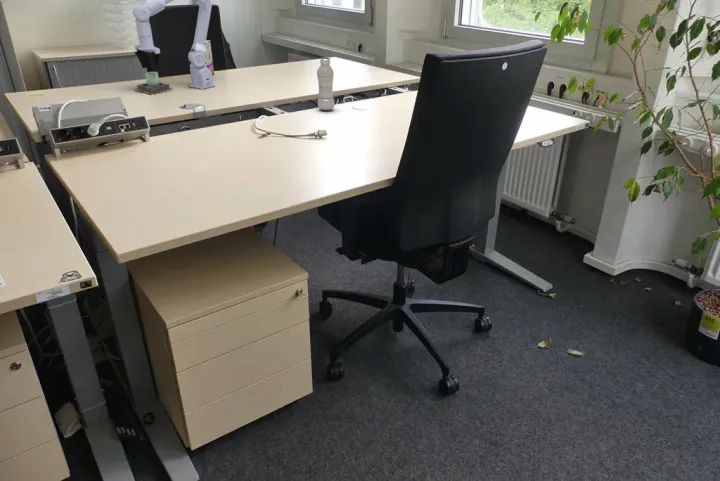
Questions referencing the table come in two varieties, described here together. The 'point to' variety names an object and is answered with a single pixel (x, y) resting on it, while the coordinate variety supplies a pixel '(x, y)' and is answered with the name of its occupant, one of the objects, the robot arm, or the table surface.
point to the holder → (152, 88)
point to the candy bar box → (209, 56)
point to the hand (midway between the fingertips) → (150, 68)
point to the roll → (152, 79)
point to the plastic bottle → (325, 85)
